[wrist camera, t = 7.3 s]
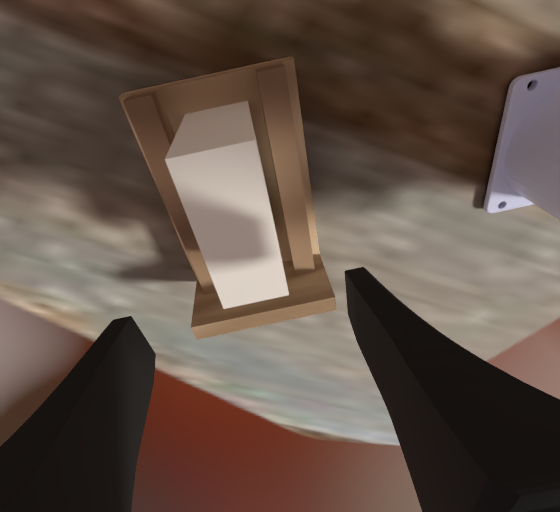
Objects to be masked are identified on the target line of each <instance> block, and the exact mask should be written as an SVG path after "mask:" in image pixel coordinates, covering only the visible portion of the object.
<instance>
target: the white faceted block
mask: <svg viewBox="0 0 560 512" xmlns="http://www.w3.org/2000/svg"><path fill="white" fill-rule="evenodd" d="M165 162H166V164H167V167H168V169H169V172H170V174H171V177H172V179H173V182H174V184H175V187H176V190H177V192H178V195H179V197H180V200H181V202H182V205H183V207H184V210H185V212H186V215H187V217H188V220H189V223H190V225H191V228H192V230H193V233H194V235H195V238H196V240H197V243H198V245H199V248H200V250H201V253H202V256H203V258H204V261H205V263H206V266H207V268H208V271H209V273H210V276H211V278H212V281H213V283H214V286H215V289H216V291H217V294H218V296H219V299H220V301H221V304H222V306H223V309H226V308H231V307H236V306H241V305H245V304H250V303H255V302H259V301H264V300H269V299H273V298H278V297H283V296H287V295H289V292H288V287H287V282H286V277H285V272H284V267H283V263H282V258H281V253H280V248H279V243H278V238H277V233H276V229H275V224H274V219H273V215H272V210H271V206H270V201H269V196H268V192H267V187H266V182H265V178H264V173H263V169H262V164H261V159H260V155H259V150H258V146H257V141H256V136H255V132H254V127H253V123H252V118H251V113H250V109H249V104H248V101H243V102H239V103H234V104H230V105H225V106H221V107H216V108H211V109H207V110H202V111H198V112H193V113H188V114H185V115H184V117H183V120H182V122H181V124H180V126H179V129H178V131H177V133H176V135H175V138H174V140H173V142H172V144H171V146H170V149H169V151H168V153H167V155H166V158H165Z"/></svg>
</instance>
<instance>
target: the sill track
mask: <svg viewBox="0 0 560 512" xmlns="http://www.w3.org/2000/svg"><path fill="white" fill-rule="evenodd" d="M118 98H119V100H120V102H121V105H122V107H123V109H124V112H125V114H126V116H127V119H128V121H129V123H130V126H131V128H132V130H133V133H134V135H135V137H136V140H137V142H138V144H139V147H140V149H141V151H142V154H143V156H144V158H145V161H146V163H147V165H148V168H149V170H150V172H151V175H152V177H153V179H154V182H155V184H156V186H157V189H158V191H159V193H160V196H161V198H162V200H163V203H164V205H165V207H166V210H167V212H168V214H169V217H170V219H171V221H172V224H173V226H174V228H175V231H176V233H177V235H178V238H179V240H180V242H181V245H182V247H183V249H184V251H185V254H186V256H187V258H188V261H189V263H190V265H191V268H192V270H193V272H194V275H195V277H196V279H197V284H196V292H195V300H194V308H193V316H192V324H191V329H192V331H193V333H194V335H195V337H196V339H201V338H206V337H210V336H215V335H220V334H225V333H229V332H234V331H239V330H244V329H248V328H253V327H258V326H262V325H267V324H272V323H277V322H281V321H286V320H291V319H296V318H300V317H305V316H310V315H314V314H319V313H324V312H329V311H333V310H336V301H335V295H334V293H333V290H332V287H331V284H330V282H329V279H328V276H327V274H326V271H325V268H324V265H323V263H322V260H321V257H320V254H319V247H318V239H317V231H316V224H315V216H314V208H313V201H312V193H311V185H310V178H309V170H308V162H307V155H306V147H305V139H304V132H303V124H302V116H301V109H300V101H299V93H298V86H297V78H296V70H295V63H294V58H292V57H291V56H290V57H285V58H280V59H276V60H271V61H267V62H262V63H257V64H253V65H248V66H244V67H239V68H235V69H230V70H225V71H221V72H216V73H212V74H207V75H202V76H198V77H193V78H189V79H184V80H180V81H175V82H170V83H166V84H161V85H157V86H152V87H147V88H143V89H138V90H134V91H129V92H125V93H123V94H121V95H120V96H119V97H118ZM243 101H248V104H249V109H250V113H251V118H252V123H253V127H254V132H255V136H256V141H257V146H258V150H259V155H260V159H261V164H262V169H263V173H264V178H265V182H266V187H267V192H268V196H269V201H270V206H271V210H272V215H273V219H274V224H275V229H276V233H277V238H278V243H279V248H280V253H281V258H282V263H283V267H284V272H285V277H286V282H287V287H288V292H289V295H287V296H283V297H278V298H273V299H269V300H264V301H259V302H255V303H250V304H245V305H241V306H236V307H231V308H226V309H223V306H222V304H221V301H220V299H219V296H218V294H217V291H216V289H215V286H214V283H213V281H212V278H211V276H210V273H209V271H208V268H207V266H206V263H205V261H204V258H203V256H202V253H201V250H200V248H199V245H198V243H197V240H196V238H195V235H194V233H193V230H192V228H191V225H190V223H189V220H188V217H187V215H186V212H185V210H184V207H183V205H182V202H181V200H180V197H179V195H178V192H177V190H176V187H175V184H174V182H173V179H172V177H171V174H170V172H169V169H168V167H167V164H166V162H165V158H166V155H167V153H168V151H169V149H170V146H171V144H172V142H173V140H174V138H175V135H176V133H177V131H178V129H179V126H180V124H181V122H182V120H183V117H184V115H185V114H188V113H193V112H198V111H202V110H207V109H211V108H216V107H221V106H225V105H230V104H234V103H239V102H243Z"/></svg>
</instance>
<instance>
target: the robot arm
mask: <svg viewBox="0 0 560 512" xmlns="http://www.w3.org/2000/svg"><path fill="white" fill-rule="evenodd" d="M530 81H532V84H531V86H530V87H529V88H528V89H527V86H528V84H529V82H530ZM501 202H502V203H501ZM500 203H501V204H500ZM499 204H500V205H499ZM533 204H535V205H537V206H538V207H540V208H542V209H543V210H545V211H546V212H548V213H550V214H551V215H553V216H554V217H556V218H557V219H559V220H560V67H558V68H553V69H549V70H544V71H539V72H535V73H530V74H525V75H521V76H518V77H516V78H515V79H514V80H513V81H512V82H511V84H510V86H509V89H508V94H507V98H506V103H505V108H504V112H503V117H502V122H501V126H500V131H499V136H498V140H497V145H496V150H495V155H494V159H493V164H492V169H491V173H490V178H489V183H488V187H487V192H486V197H485V201H484V210H485V211H486V212H488V213H496V212H500V211H505V210H510V209H514V208H519V207H524V206H529V205H533ZM345 281H346V294H347V307H348V315H349V318H350V322H351V325H352V328H353V331H354V334H355V337H356V340H357V342H358V345H359V347H360V349H361V351H362V354H363V356H364V358H365V360H366V362H367V365H368V367H369V369H370V371H371V373H372V376H373V378H374V380H375V382H376V384H377V387H378V389H379V391H380V393H381V395H382V397H383V400H384V402H385V404H386V407H387V409H388V412H389V414H390V417H391V420H392V423H393V425H394V428H395V431H396V434H397V437H398V440H399V443H400V446H401V448H402V451H403V454H404V457H405V460H406V463H407V466H408V469H409V472H410V475H411V478H412V481H413V484H414V487H415V490H416V493H417V497H418V500H419V503H420V506H421V509H422V512H560V400H559V399H557V398H555V397H553V396H551V395H549V394H547V393H545V392H543V391H541V390H539V389H537V388H534V387H532V386H530V385H528V384H526V383H524V382H522V381H520V380H519V379H517V378H515V377H513V376H511V375H509V374H508V373H506V372H504V371H502V370H500V369H498V368H497V367H495V366H493V365H491V364H489V363H487V362H486V361H484V360H482V359H481V358H479V357H477V356H476V355H474V354H472V353H471V352H469V351H468V350H466V349H464V348H463V347H461V346H460V345H458V344H457V343H455V342H454V341H452V340H451V339H449V338H448V337H446V336H445V335H443V334H442V333H440V332H439V331H438V330H436V329H435V328H434V327H432V326H431V325H430V324H428V323H427V322H426V321H424V320H423V319H422V318H420V317H419V316H418V315H417V314H415V313H414V312H413V311H412V310H410V309H409V308H408V307H407V306H406V305H404V304H403V303H402V302H401V301H400V300H398V299H397V298H396V297H395V296H394V295H393V294H392V293H391V292H389V291H388V290H387V289H386V288H385V287H384V286H383V285H382V284H381V283H380V282H379V281H378V280H377V279H376V278H375V277H374V276H373V275H372V274H371V273H370V272H369V271H368V270H367V269H365V268H364V267H361V268H356V269H351V270H347V271H345ZM155 356H156V354H155V352H154V351H153V349H152V348H151V346H150V345H149V343H148V342H147V340H146V338H145V337H144V335H143V334H142V332H141V331H140V329H139V327H138V326H137V324H136V323H135V321H134V320H133V318H132V316H129V317H124V318H119V319H115V320H113V321H112V322H111V323H110V324H109V325H108V326H107V328H106V329H105V330H104V331H103V332H102V334H101V335H100V336H99V337H98V339H97V340H96V341H95V342H94V343H93V345H92V346H91V347H90V349H89V350H88V351H87V352H86V353H85V355H84V356H83V357H82V358H81V359H80V361H79V362H78V363H77V364H76V365H75V367H74V368H73V369H72V370H71V372H70V373H69V374H68V375H67V377H66V378H65V379H64V380H63V381H62V382H61V383H60V384H59V386H58V387H57V388H56V389H55V390H54V391H53V392H52V393H51V395H50V396H49V397H48V398H47V399H46V401H44V403H43V404H42V405H41V406H40V407H39V408H38V409H37V410H36V411H35V412H34V414H33V415H32V416H31V417H30V418H29V419H28V420H27V421H26V422H25V423H24V424H23V425H22V426H21V427H20V428H19V429H18V430H17V431H16V432H15V433H14V434H13V435H12V436H11V437H10V438H9V439H8V440H7V441H6V442H5V443H4V444H3V445H2V446H1V447H0V512H131V507H132V497H133V488H134V480H135V471H136V464H137V459H138V453H139V448H140V444H141V439H142V434H143V429H144V425H145V421H146V416H147V412H148V407H149V402H150V398H151V393H152V388H153V382H154V371H155Z"/></svg>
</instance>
